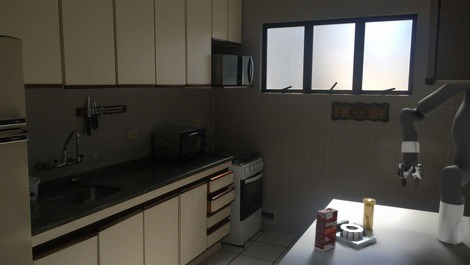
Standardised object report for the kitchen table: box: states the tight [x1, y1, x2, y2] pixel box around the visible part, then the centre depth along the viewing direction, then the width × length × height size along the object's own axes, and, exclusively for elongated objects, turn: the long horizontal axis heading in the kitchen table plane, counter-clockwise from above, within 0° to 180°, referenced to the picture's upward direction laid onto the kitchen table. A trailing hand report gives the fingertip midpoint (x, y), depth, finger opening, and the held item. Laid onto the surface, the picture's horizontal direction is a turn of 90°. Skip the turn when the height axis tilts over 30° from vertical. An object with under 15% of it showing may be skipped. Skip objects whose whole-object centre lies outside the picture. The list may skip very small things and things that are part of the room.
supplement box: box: [313, 207, 339, 253], centre depth 165 cm, size 9×5×16 cm, turn 131°
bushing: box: [362, 197, 377, 232], centre depth 188 cm, size 6×6×14 cm
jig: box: [336, 219, 377, 249], centre depth 176 cm, size 16×13×5 cm
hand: (410, 187), depth 186 cm, fingers open, 8 cm apart
